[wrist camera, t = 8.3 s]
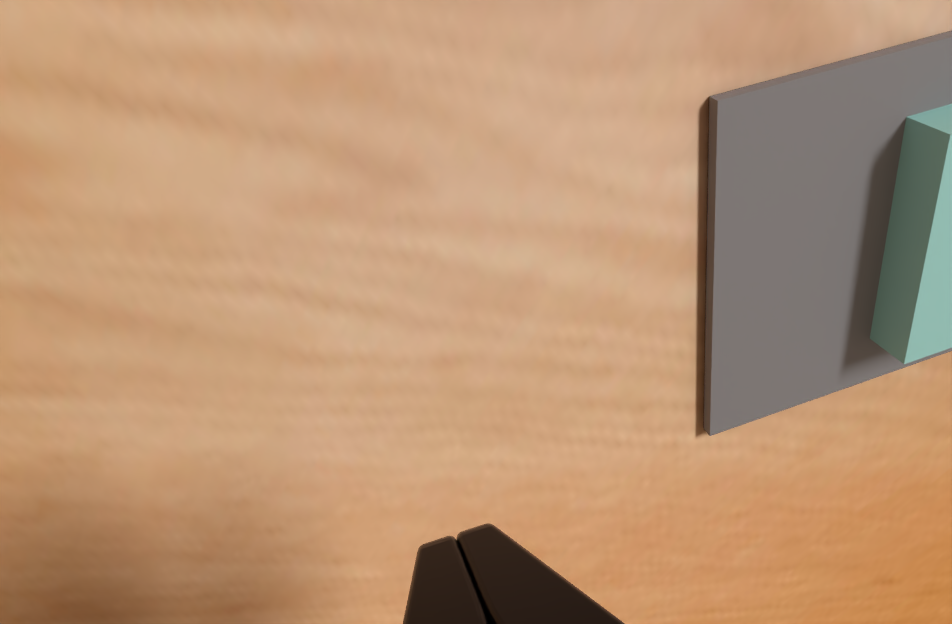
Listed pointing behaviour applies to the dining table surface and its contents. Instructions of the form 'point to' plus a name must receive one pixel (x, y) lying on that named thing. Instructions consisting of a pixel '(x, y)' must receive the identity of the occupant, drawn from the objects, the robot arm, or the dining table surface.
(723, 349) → the mat
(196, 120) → the dining table surface
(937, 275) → the teal board
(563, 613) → the robot arm
